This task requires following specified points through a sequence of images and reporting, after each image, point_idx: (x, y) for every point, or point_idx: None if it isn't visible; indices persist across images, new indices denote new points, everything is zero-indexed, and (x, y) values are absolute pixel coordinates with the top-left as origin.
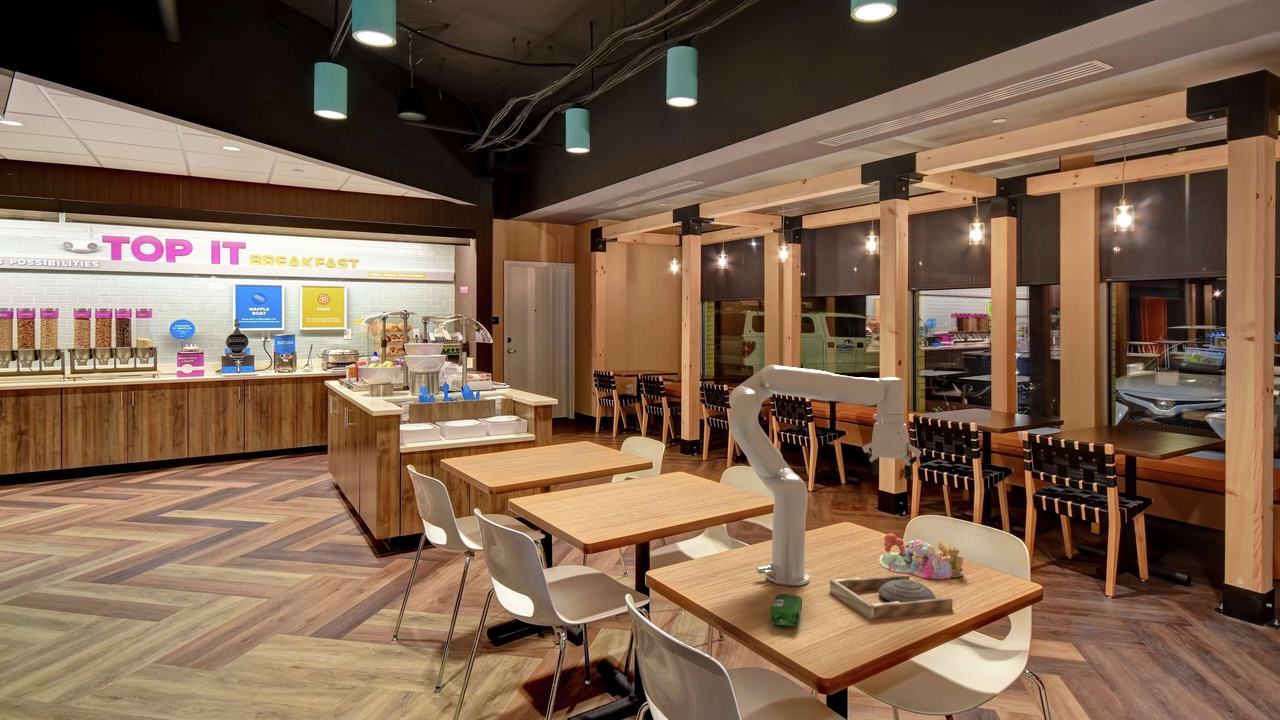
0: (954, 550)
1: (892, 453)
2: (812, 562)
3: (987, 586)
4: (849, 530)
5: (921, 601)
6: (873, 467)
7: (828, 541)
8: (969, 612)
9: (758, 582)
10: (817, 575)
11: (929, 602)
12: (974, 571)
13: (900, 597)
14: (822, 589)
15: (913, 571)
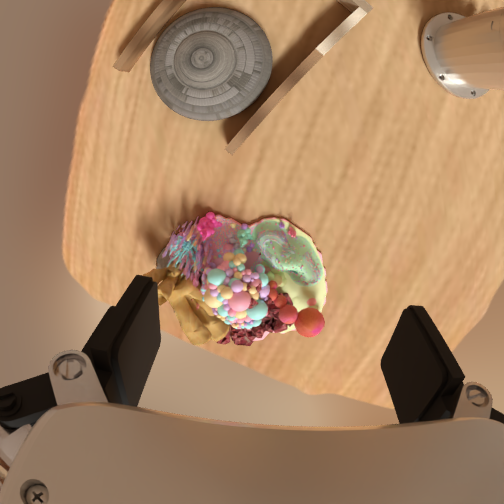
0: None
1: (215, 491)
2: (447, 183)
3: (110, 238)
4: None
5: (160, 8)
6: (437, 343)
7: None
8: (98, 79)
9: None
10: (420, 102)
11: (147, 20)
12: None
13: (207, 11)
14: (383, 22)
15: (239, 229)
